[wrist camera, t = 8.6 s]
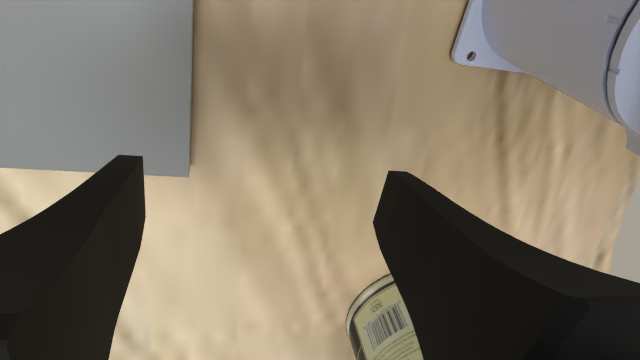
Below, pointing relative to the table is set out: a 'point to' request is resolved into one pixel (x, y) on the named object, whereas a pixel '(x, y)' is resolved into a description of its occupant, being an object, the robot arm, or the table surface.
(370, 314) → the coffee can
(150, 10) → the equipment case
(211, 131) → the table surface
